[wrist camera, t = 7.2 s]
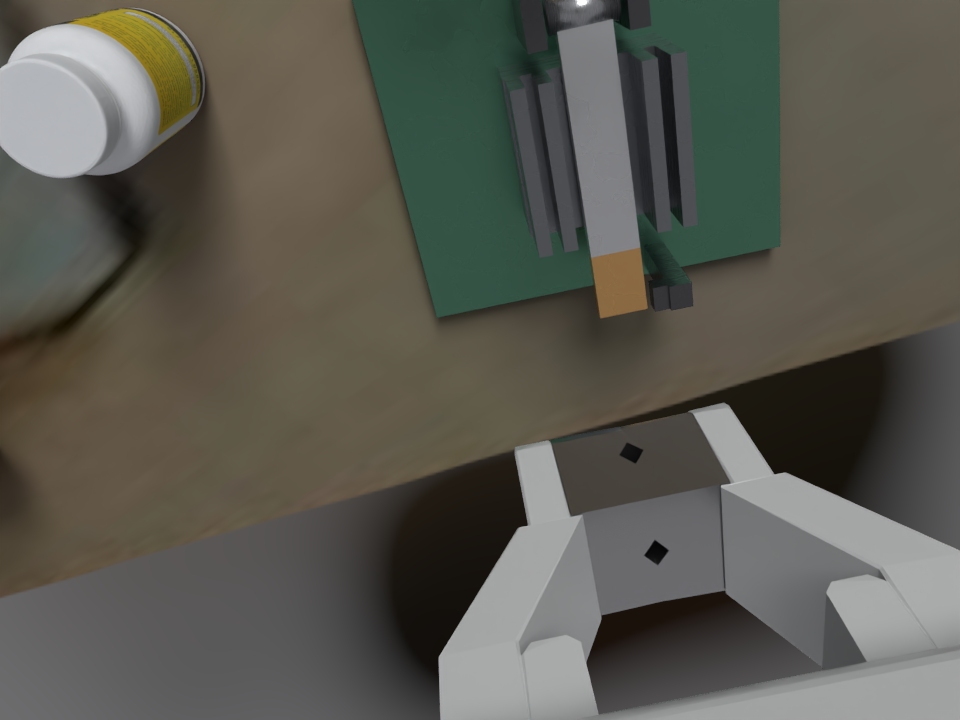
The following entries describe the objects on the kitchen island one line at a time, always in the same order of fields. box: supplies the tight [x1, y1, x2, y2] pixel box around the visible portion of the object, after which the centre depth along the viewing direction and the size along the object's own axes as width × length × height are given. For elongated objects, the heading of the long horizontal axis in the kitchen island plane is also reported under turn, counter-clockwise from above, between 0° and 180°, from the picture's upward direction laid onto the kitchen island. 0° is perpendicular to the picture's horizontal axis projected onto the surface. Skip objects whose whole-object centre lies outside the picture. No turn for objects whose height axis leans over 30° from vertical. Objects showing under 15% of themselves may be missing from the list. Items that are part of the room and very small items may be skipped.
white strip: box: [542, 0, 648, 318], centre depth 32 cm, size 3×14×1 cm, turn 11°
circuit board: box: [352, 0, 780, 318], centre depth 33 cm, size 18×16×6 cm
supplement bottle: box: [0, 8, 205, 178], centre depth 30 cm, size 5×5×10 cm
